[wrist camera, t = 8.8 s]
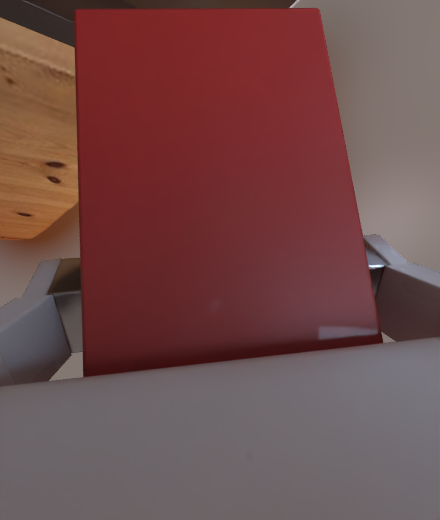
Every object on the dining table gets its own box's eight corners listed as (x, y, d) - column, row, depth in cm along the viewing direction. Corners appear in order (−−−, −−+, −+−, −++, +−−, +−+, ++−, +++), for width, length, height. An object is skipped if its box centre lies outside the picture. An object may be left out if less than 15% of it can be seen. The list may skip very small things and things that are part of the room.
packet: (72, 6, 8) (84, 479, 6) (320, 6, 9) (402, 433, 7) (108, 112, 12) (122, 426, 10) (279, 105, 13) (325, 399, 11)
